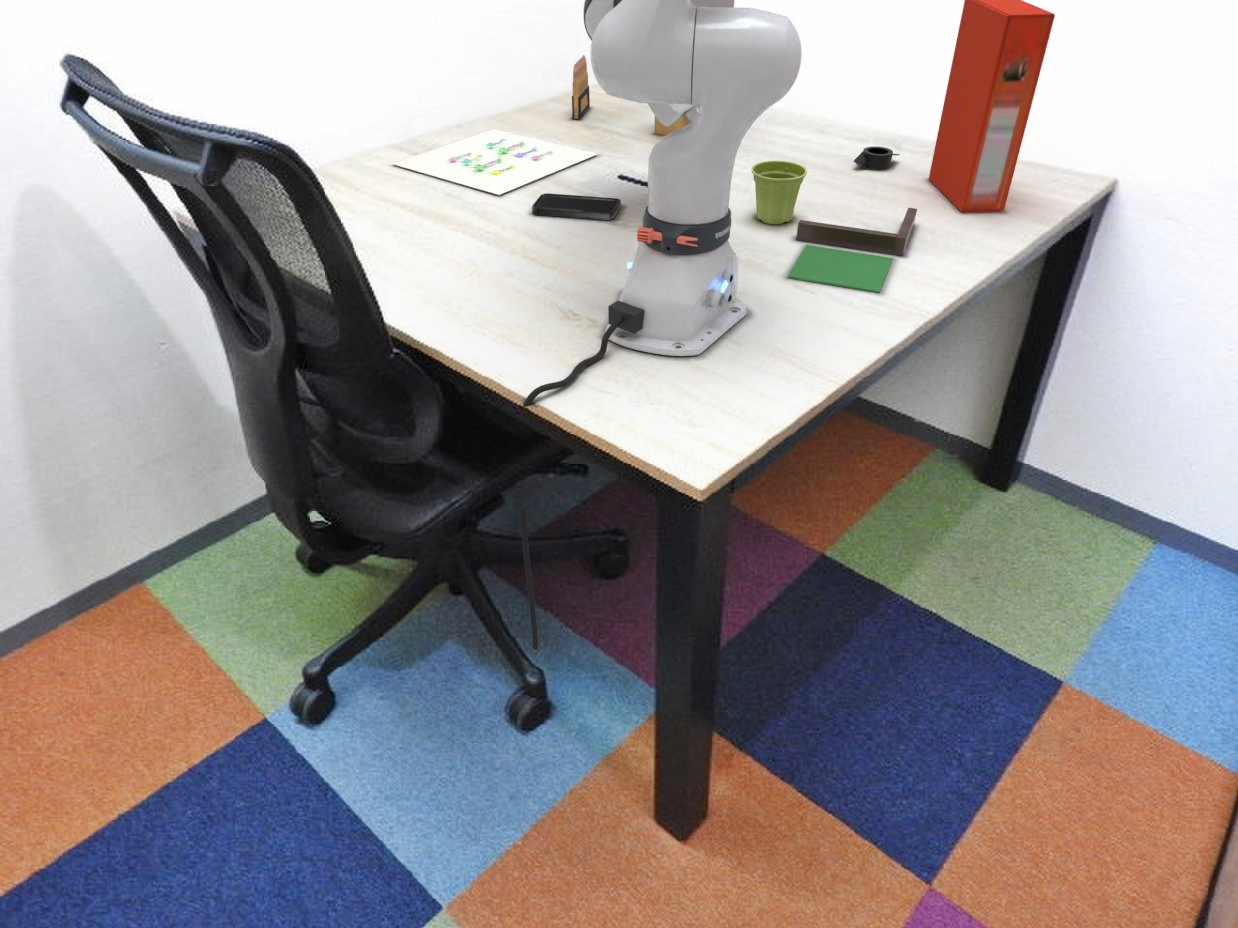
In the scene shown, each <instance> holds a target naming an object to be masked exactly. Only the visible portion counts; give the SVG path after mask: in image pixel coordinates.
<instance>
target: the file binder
mask: <svg viewBox="0 0 1238 928" xmlns="http://www.w3.org/2000/svg"><path fill="white" fill-rule="evenodd" d="M1055 17H1056V14H1055V13H1053V12H1051V11H1048V10H1046V9H1044V8H1042V7H1039V6H1037V5H1034V4H1032V3H1030V2H1027V1H1025V0H964V2H963V7H962V12H961V17H960V22H959V25H958V26H959V27H958V32H957V36H956V40H955V41H956V42H955V45H954V51H953V55H952V56H953V57H952V62H951V66H950V71H949V76H948V81H947V86H946V90H945V96H944V100H943V106H942V111H941V115H940V120H939V126H938V130H937V136H936V140H935V145H934V149H933V155H932V159H931V165H930V168H929V169H930V170H929V175H928V181H930V183H932V185H933V186H934V187H936V189H937V190H938V191H939V192H940V193H941V194H943V196H945V198H947V200H949V202H951V203H952V204H953V206H954V207H956V209H957V210H958V211H959V212H960V213H961V214H972V213H973V214H975V213H1001V212H1002V211H1005V209H1006V204H1007V201H1008V197H1009V193H1010V189H1011V185H1012V181H1013V178H1014V173H1015V171H1016V165H1017V162H1018V158H1019V155H1020V151H1021V148H1022V143H1023V139H1024V136H1025V133H1026V132H1025V131H1026V128H1027V123H1028V120H1029V116H1030V112H1031V108H1032V105H1033V101H1034V97H1035V94H1036V89H1037V86H1038V83H1039V82H1038V81H1039V79H1040V74H1041V70H1042V66H1043V62H1044V59H1045V55H1046V51H1047V47H1048V45H1049V44H1048V43H1049V40H1050V36H1051V32H1052V28H1053V25H1054V21H1055Z"/></svg>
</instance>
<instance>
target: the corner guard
mask: <svg viewBox="0 0 1238 928" xmlns="http://www.w3.org/2000/svg"><path fill="white" fill-rule="evenodd" d="M917 212H918V208H915V207H908V208H907V210H906V213H905V215H904V217H903V220H902V223H901V226H900V227H899V230H898V233H894V232H887V231H880V230H873V229H866V228H859V227H853V226H845V225H838V224H832V223H824V222H817V221H812V220H811V221H810V220H805V219H800V220H799V221H798V222H797V228H796V229H797V230H796V237H795V240H796V241H800V242H801V241H802V242H807V243H815V244H821V245H828V246H833V247H841V248H848V249H853V250H854V249H855V250H861V251H866V252H872V253H873V252H875V253H880V254H886V255H895V256H900V257H903V256H904V253H905V250H906V247H907V244H908V242H909V240H910V238H911V234H912V231H913V229H914V226H915V221H916V217H917Z"/></svg>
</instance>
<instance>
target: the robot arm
mask: <svg viewBox="0 0 1238 928" xmlns="http://www.w3.org/2000/svg"><path fill="white" fill-rule="evenodd" d="M583 25H584V29H585V32H586V34H587V36H588V38H589V39H590V41H591V43H590V51H589V52H590V57H589V58H590V65H591V69H592V73H593V76H594V78H595V80H596V82H597V84H598V85H599V87H600V88H601V90H602V91H603V92H604V93H605V94H606V96H609V97H614V98H617V99H622V100H626V101H630V102H634V103H638V104H647V105H648V107H649V108H650V110H651V112H652V113H653V115H654V117H655V116H656V117H657V119H658V120H659V122H660V123H662V124H663V125H665V126H669V125H671V124H672V123H674V122H675V121H677V120H678V119H680V118H682V117H683V116H685V115H686V116H687V117H688V119H689V120H690V121H691V123H690V124H688V125H686V126H685V127H683V128H680V129H678V130H676V131H674V132H672V133H670V134H668V135H666V136H662V138H660V140H658V141H657V142H656V143H655V144H654V146H653V147H652V149H651V150H650V153H649V155H648V160H647V163H648V164H647V205H646V206H645V208H644V213H643V217H642V220H641V221H642V222H641V226H638V229H637V232H636V240H637V242H638V246H637V248H636V252H635V253H634V257H633V260H632V261H629V262H627V263H626V268H627V269H629V272H628V276H627V278H626V282H625V284H624V287H623V288H622V290H621V292H620V295H619V297H618V300H617V301H615V302H613V303H611V304H608V306H607V307H608V308H607V309H608V311H607V312H608V322H607V325H606V327H605V330H604V334H603V336H602V338H601V343H600V348H599V350H598V352H596V354H595V355H593V356H591V357H587V358H585V359H583V360H582V361H580V362H579V363H578V364H577V365H575V367H574V368H573V369H572V371H571V372H570V373H569V375H568V376H566V377H565V378H564V379H561V380H558V381H555V382H550V383H549V382H548V383H544V384H542V385H539V386H538V387H536V388H535V389H533V390H532V391H531V392H530V393H529V394H528V395H527V397H526V398H525V400H524V402H523V404H522V407H525V408H527V407H529V406H531V404H532V403H533V401H534V400H535V399H536V398H537V397H538V396H539V395H541V394H542V393H545V392H548V391H553V390H558V389H561V388H564V387H566V386H568V385H570V384H571V383H572V382H573V381H575V379H576V378H577V377H578V375H579V374H580V372H581V371H582V370H583V369H585V368H586V367H587V366H590V365H592V364H595V363H597V362H599V361H600V360H601V359H602V358H603V357H604V355H605V354H606V352H607V349H608V343H609V341H611V342H613V343H614V344H617V345H619V346H622V347H625V348H628V349H631V350H635V351H640V352H645V353H649V354H654V355H655V354H656V355H662V356H672V357H693V356H698V355H701V354H702V353H703V352H705V350H707V349H709V347H710V346H712V344H714V343H715V342H716V341H717V340H718V339H719V338H721V337H722V336H723V335H724V334H725V333H727V332H728V331H729V330H730V329H731V328H732V327H734V326H735V325H736V324H737V323H738V322H739V321H741V320H742V319H744V318H745V316H746V315H747V306H746V305H745V304H744V303H742V302H741V301H739V300H738V286H739V285H738V282H739V281H738V280H739V256H738V255H737V253H736V252H735V251H734V249H733V248H732V246H731V244H730V241H729V239H730V237H731V228H732V211H731V208H730V206H729V205H730V194H731V185H732V179H733V171H734V167H735V162H736V157H737V153H738V151H739V148H740V145H741V143H742V141H743V139H744V137H745V136H746V134H747V132H749V129H751V127H752V125H753V124H754V123H755V122H756V121H757V120H758V118H759V117H760V116H761V115H762V114H763V113H765V112H766V111H767V110H768V109H769V108H770V107H772V106H773V105H775V104H776V103H778V102H780V101H781V100H782V99H783V98H784V97H785V96H786V95H787V94H788V93H789V92H790V90H791V89H792V87H793V86H794V84H795V82H796V81H797V78H798V76H799V73H800V69H801V64H802V58H803V56H802V55H803V54H802V52H803V51H802V42H801V39H800V38H801V37H800V35H799V33H798V30H797V28H796V26H795V24H794V23H793V22H792V20H791V19H790V18H789V17H788V16H786V15H782V14H779V13H776V12H771V11H768V10H764V9H759V8H755V7H735V6H734V7H698V8H697V6H695V5H693V4H692V3H691V1H690V0H584V4H583ZM519 521H520V522H519V523H520V534H521V535H520V536H521V544H522V545H521V547H522V555H523V564H524V570H525V572H524V573H525V582H526V588H527V589H526V590H527V600H528V607H529V618H530V627H531V628H530V629H531V640H532V641H531V642H532V649H533V650H534V651H537V650H539V637H538V626H537V625H538V624H537V611H536V603H535V594H534V593H535V592H534V583H533V574H532V565H531V557H530V555H531V554H530V546H529V545H530V544H529V536H528V535H529V534H528V524H527V512H526V511H524V510H522V509H519Z"/></svg>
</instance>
